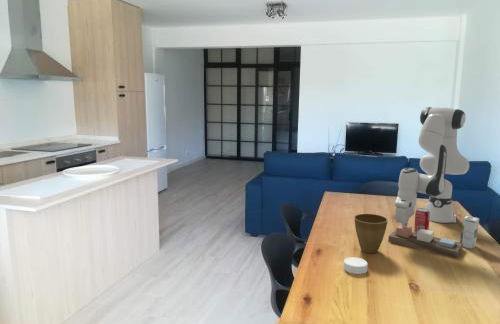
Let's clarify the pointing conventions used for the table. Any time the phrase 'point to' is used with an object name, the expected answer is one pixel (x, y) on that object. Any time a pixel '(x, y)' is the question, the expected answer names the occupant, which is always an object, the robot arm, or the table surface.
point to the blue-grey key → (447, 243)
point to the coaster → (355, 265)
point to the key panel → (426, 244)
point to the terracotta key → (404, 231)
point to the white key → (425, 235)
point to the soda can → (421, 219)
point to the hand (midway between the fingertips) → (404, 226)
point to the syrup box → (469, 231)
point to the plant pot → (370, 231)
